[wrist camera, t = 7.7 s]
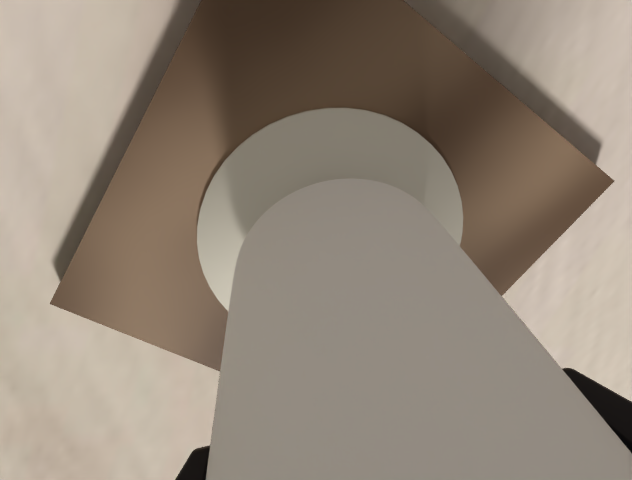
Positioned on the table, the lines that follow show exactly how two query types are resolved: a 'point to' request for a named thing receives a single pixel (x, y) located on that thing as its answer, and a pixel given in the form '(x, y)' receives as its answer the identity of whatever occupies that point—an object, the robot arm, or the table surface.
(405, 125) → the walnut board
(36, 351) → the table surface
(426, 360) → the can
